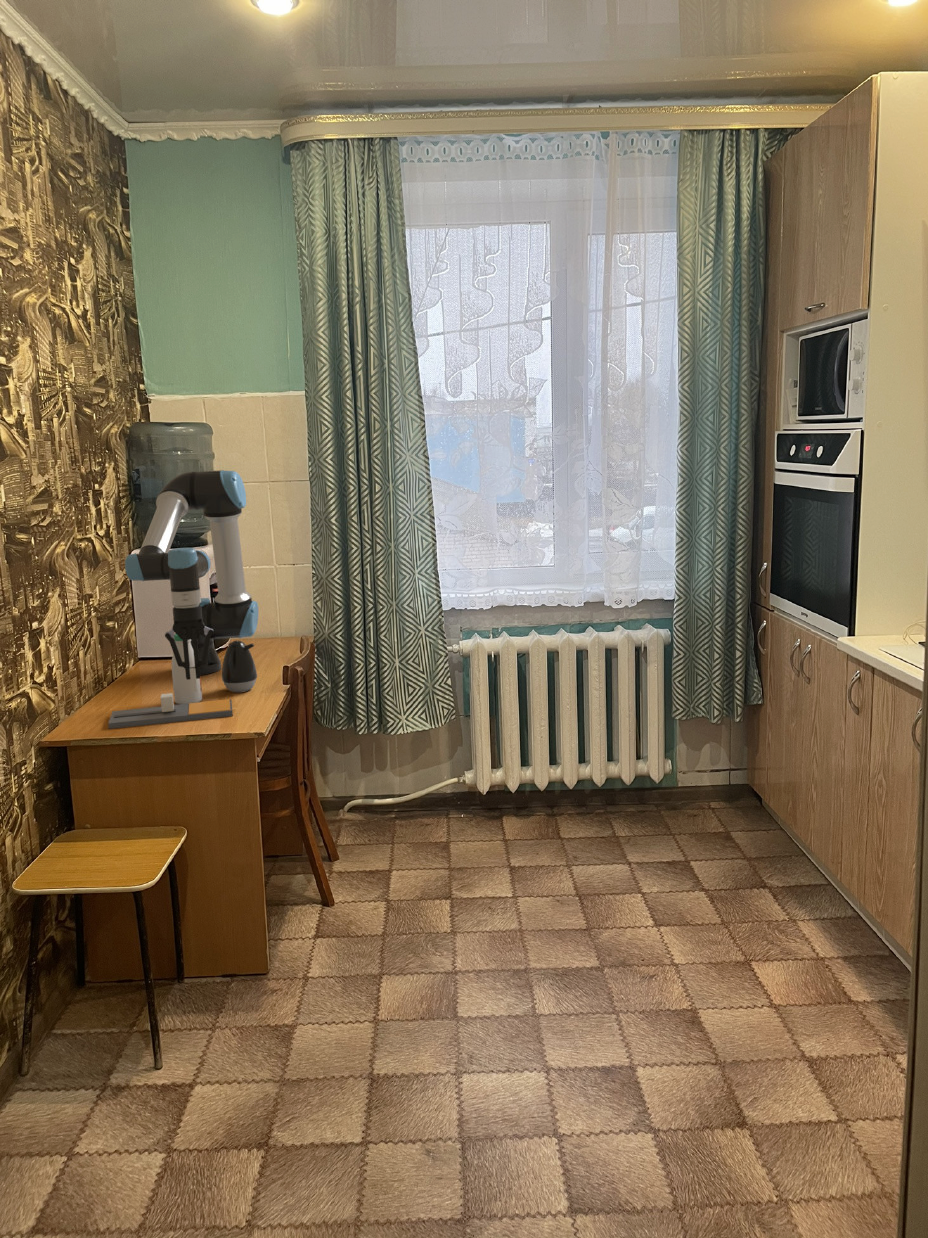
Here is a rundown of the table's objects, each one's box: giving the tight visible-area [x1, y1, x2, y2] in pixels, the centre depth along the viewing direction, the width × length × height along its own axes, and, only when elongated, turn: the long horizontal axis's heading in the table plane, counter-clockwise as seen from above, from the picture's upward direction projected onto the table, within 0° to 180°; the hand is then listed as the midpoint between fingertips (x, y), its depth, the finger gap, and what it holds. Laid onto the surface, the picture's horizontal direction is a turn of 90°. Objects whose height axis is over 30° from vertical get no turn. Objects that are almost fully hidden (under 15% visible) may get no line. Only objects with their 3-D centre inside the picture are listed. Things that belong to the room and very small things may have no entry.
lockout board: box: [107, 698, 234, 730], centre depth 266 cm, size 12×32×2 cm, turn 104°
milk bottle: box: [171, 633, 203, 705], centre depth 278 cm, size 8×8×20 cm
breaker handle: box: [160, 692, 175, 712], centre depth 265 cm, size 4×3×4 cm
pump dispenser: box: [221, 640, 258, 693], centre depth 289 cm, size 10×10×15 cm
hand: (194, 690), depth 266 cm, fingers closed
